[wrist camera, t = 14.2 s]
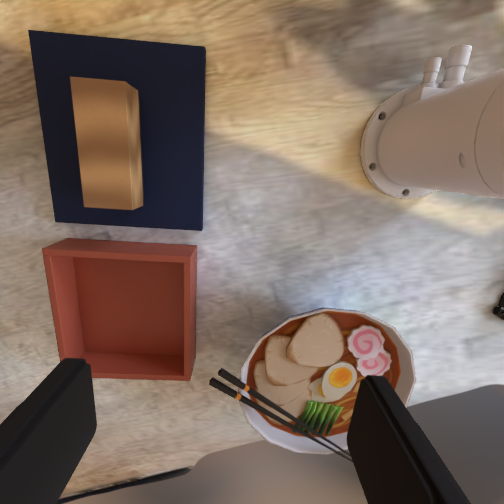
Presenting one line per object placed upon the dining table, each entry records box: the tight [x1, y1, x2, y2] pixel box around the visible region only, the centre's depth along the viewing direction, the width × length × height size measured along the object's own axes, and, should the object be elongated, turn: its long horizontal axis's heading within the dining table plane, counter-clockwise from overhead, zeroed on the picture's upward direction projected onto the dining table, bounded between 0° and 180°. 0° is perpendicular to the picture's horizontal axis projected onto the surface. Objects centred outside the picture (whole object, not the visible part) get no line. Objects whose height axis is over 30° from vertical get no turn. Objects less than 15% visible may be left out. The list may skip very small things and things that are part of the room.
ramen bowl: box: [209, 308, 416, 462], centre depth 38 cm, size 25×23×8 cm
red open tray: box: [42, 238, 197, 381], centre depth 37 cm, size 18×17×5 cm
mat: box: [28, 30, 206, 231], centre depth 32 cm, size 20×18×1 cm
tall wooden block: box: [70, 77, 144, 210], centre depth 30 cm, size 12×5×5 cm, turn 176°
